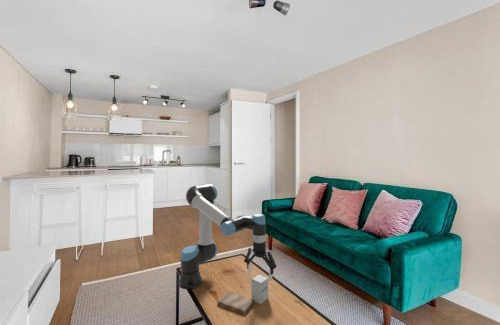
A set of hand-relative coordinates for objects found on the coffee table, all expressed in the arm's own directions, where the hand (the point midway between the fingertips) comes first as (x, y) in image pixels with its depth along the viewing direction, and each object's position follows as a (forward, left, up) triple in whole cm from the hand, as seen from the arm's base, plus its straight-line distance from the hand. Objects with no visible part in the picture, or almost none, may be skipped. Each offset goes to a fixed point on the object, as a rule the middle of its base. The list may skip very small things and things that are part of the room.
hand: (260, 277), depth 143 cm
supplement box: (0, 0, -14) cm, 14 cm away
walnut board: (-10, -10, -14) cm, 20 cm away
